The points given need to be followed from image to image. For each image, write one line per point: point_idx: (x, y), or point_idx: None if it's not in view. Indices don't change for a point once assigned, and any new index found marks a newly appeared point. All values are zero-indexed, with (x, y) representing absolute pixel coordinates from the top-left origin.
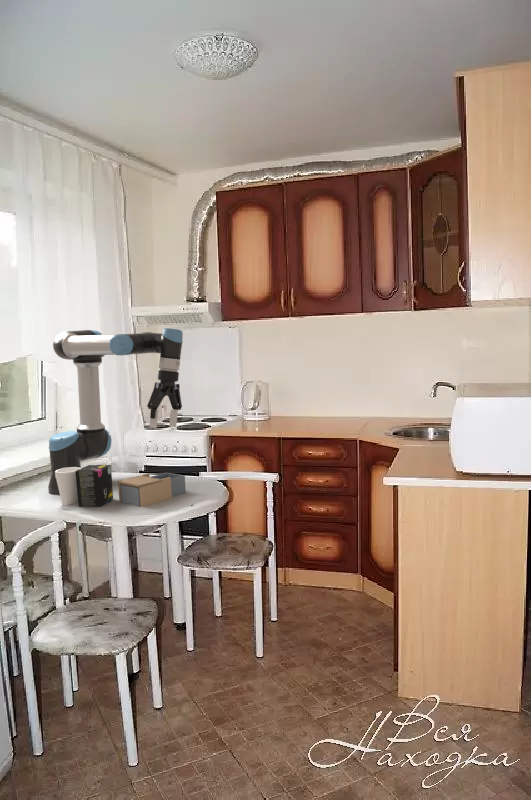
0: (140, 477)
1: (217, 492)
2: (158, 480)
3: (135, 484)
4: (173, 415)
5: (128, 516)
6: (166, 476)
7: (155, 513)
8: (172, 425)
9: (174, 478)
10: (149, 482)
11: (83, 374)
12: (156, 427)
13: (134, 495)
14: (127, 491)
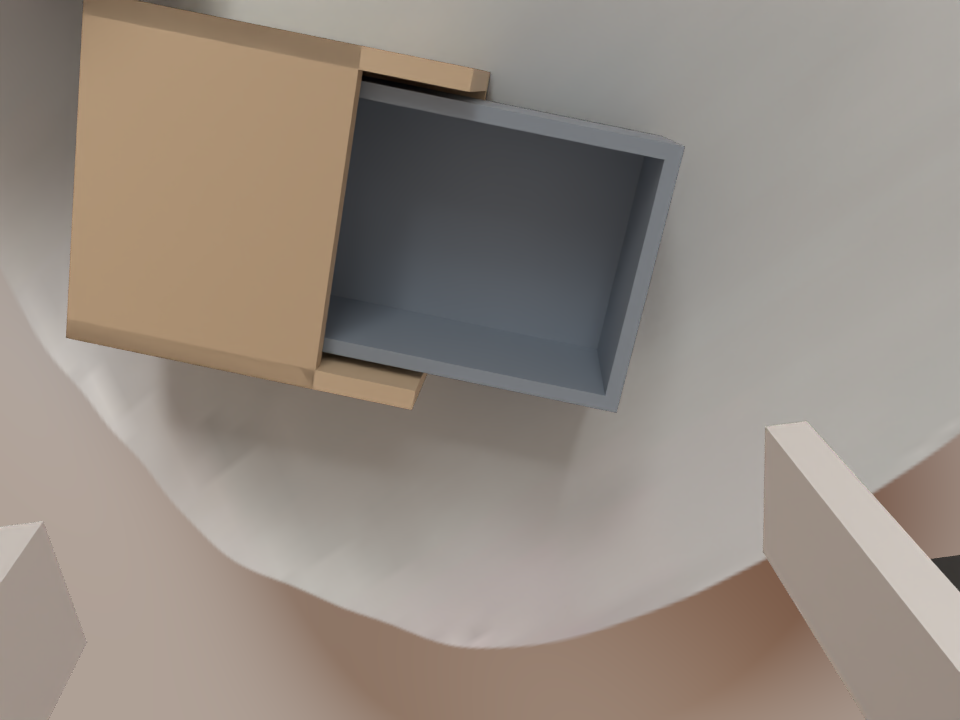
0: (296, 120)
1: None
2: (270, 379)
3: (69, 271)
4: (873, 655)
5: (19, 288)
6: (659, 159)
7: (155, 418)
8: (771, 509)
9: (490, 386)
10: (179, 348)
11: None
12: (75, 649)
13: None
14: None
